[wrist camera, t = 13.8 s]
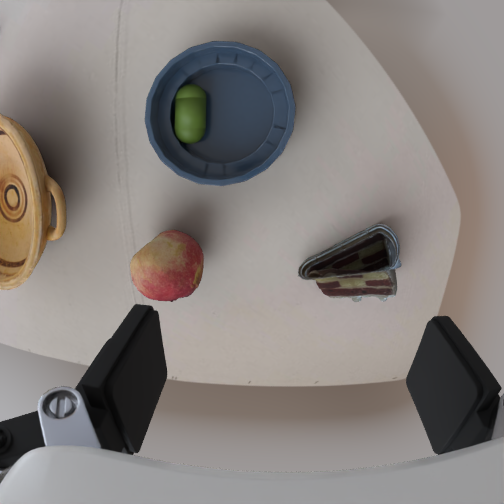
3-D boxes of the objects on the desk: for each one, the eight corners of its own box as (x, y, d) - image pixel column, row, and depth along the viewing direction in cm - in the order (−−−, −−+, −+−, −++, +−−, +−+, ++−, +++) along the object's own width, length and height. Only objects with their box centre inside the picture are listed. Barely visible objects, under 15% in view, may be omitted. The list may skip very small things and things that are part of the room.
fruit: (200, 215, 36) (182, 238, 28) (216, 275, 38) (204, 310, 31) (140, 229, 37) (111, 253, 29) (159, 285, 39) (137, 318, 32)
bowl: (192, 38, 28) (180, 24, 23) (312, 83, 30) (319, 75, 25) (144, 151, 33) (125, 154, 28) (258, 198, 35) (256, 209, 30)
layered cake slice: (313, 310, 40) (398, 333, 31) (291, 276, 36) (387, 296, 27) (345, 256, 44) (424, 267, 35) (328, 219, 40) (416, 226, 31)
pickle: (213, 84, 29) (192, 87, 30) (189, 80, 26) (169, 85, 28) (211, 143, 31) (191, 143, 33) (188, 144, 29) (168, 144, 30)
